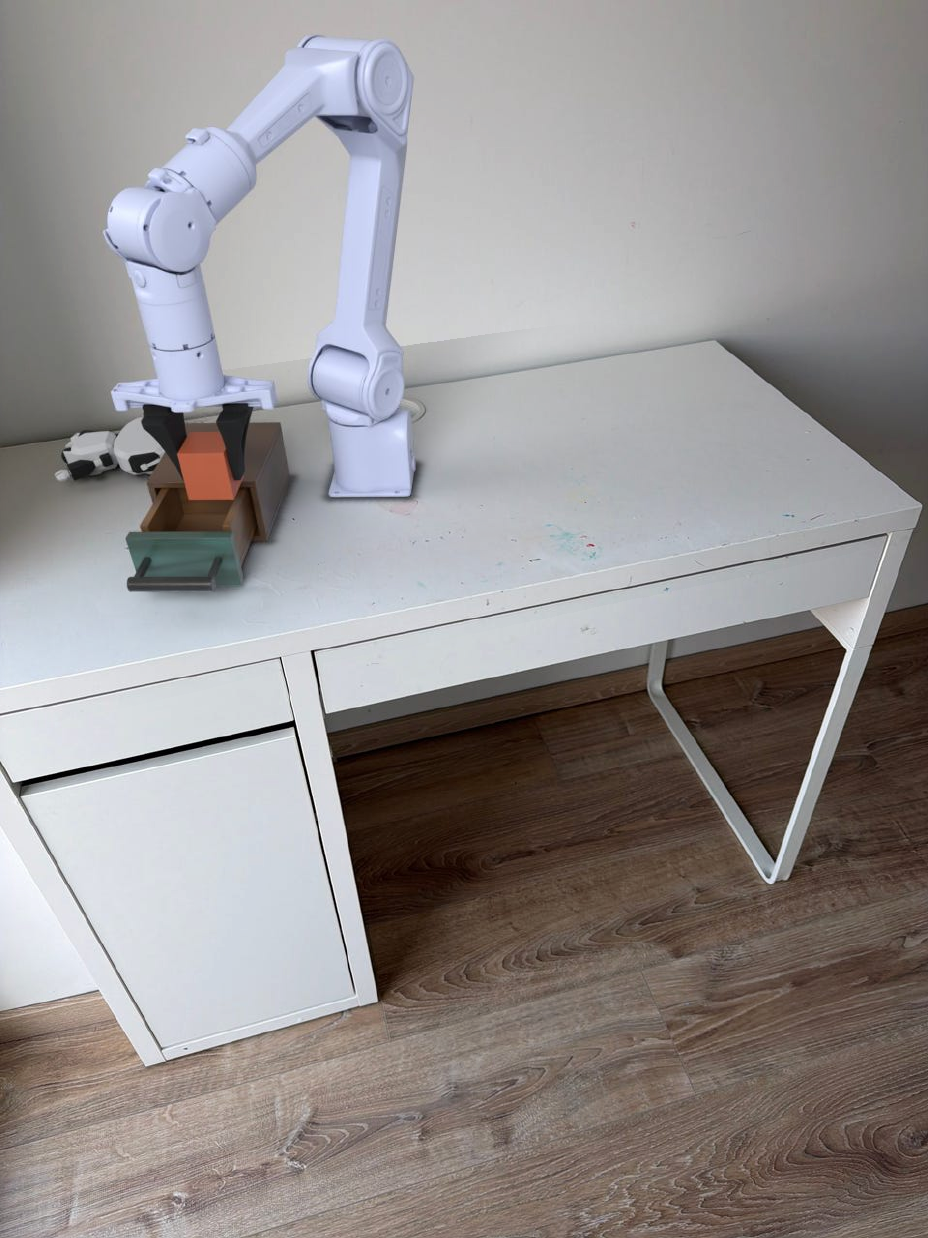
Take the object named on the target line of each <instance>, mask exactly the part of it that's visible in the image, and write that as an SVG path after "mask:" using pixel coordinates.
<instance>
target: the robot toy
mask: <svg viewBox="0 0 928 1238" xmlns="http://www.w3.org/2000/svg"><path fill="white" fill-rule="evenodd" d="M143 417H144V416H141V417H137V418H135V419H133V420H130V421H129V422H127V423H126V424H125V425H124V426H123V427H122V428H121V429H120V431H119V433H113V432H112V431H110V430H106V431H105V430H103V431H98V430H92V429H91V430H90V429H85V430H82V431H80V432H76V433H75V434H73V436H71V437H70V441H69V442H68V443H66V444H65V447H64V449H62V451H61V453H60V458H61V460H62V461H63V463H65V464H66V468H67V469H60V470H58V471H56V472H54V473H55V474H54V477H55V479H56V480H57V481H58V482H66V481H68V480H70V478H72V479H73V481H74V482H75V481H78V480H81V479H83V478H87V477H89V476H96V475H101V474H102V473H103V472H106V471H109V470H113V469H116V468H117V467H118V465H119V467H120V469H121V470H123V471H124V472H126V473H129V474H131V475H134V476H136V475H142V474H147V475H151V474H152V473H153V471H154V469H155V468H156V466H157V465H158V463H159V461H160V460H161V458H162V456H163V455H164V453H165V451H164V449H163V448H162V447H161V446H160V444H159V443H158V442H157V441H156V440H155V439H154V438H153V437H152V436H151V435H150V434H149V433H148V432H146V431H145V430H144V428H143V426H142V424H141V420H142V419H143Z"/></svg>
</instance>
